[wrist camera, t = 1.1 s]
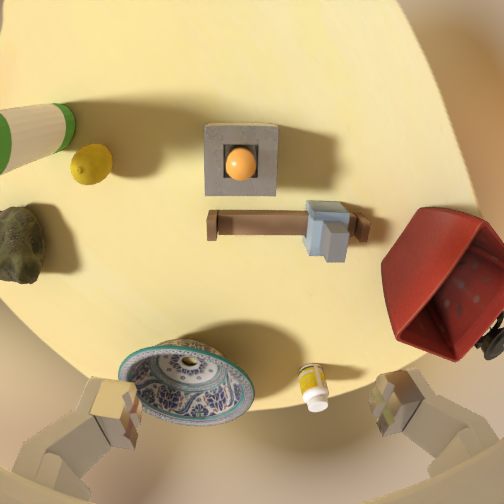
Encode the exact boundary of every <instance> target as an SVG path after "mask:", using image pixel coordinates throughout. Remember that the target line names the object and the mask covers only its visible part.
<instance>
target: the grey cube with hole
mask: <svg viewBox="0 0 504 504" xmlns="http://www.w3.org/2000/svg"><path fill="white" fill-rule="evenodd" d="M278 135H279V126H276V125H274V124H272V123H209V124H207V125H205V126H204V173H205V196H276V181H277V159H278ZM236 146H245V147H247V148H249V149H250V150H251V151H252V153H253V156H254V159H255V162H256V170H255V172H254V174H253V175H252V177H250V178H249V179H247V180H243V181H238V180H235V179H233V178H231V177H230V176H229V174H228V173H227V170H226V162H227V158H228V154H229V152H230V151H231V150H232V149H233V148H234V147H236Z"/></svg>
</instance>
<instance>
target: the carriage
mask: <svg viewBox="0 0 504 504" xmlns="http://www.w3.org/2000/svg"><path fill="white" fill-rule="evenodd" d="M306 209H307V211H308V213H309V217H308V227H307V235H303V243H304V245H305V247H306V249H307V252H308V254H309V256H324V258H325V260H326V262H345V258H346V252H347V247H348V241H349V235H350V233H349V232H348V231H347V230H348V224H349V217H350V212H349V211H348V210H347V209H346V208H345V207H344V206H343V205H342V204H341V203H340V202H330V201H307V202H306Z"/></svg>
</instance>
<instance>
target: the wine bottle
mask: <svg viewBox="0 0 504 504" xmlns="http://www.w3.org/2000/svg"><path fill="white" fill-rule="evenodd" d="M74 131H75V119H74V116H73V114H72V112H71V110H70V109H69V108H68V107H67V106H65V105H63V104H56V103H53V104H41V105H32V106H24V107H16V108H10V109H4V110H0V175H2V174H4V173H7V172H9V171H11V170H14V169H16V168H18V167H21V166H23V165H26V164H28V163H31V162H33V161H36V160H38V159H41V158H44V157H46V156H49V155H51V154H54V153H57V152H59V151H61V150H63V149H64V148H65V147H66V146H67V145H68V144H69V143H70V141H71V140H72V137H73V135H74Z"/></svg>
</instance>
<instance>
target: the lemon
mask: <svg viewBox="0 0 504 504" xmlns="http://www.w3.org/2000/svg"><path fill="white" fill-rule="evenodd" d="M112 164H113V159H112V155H111V153H110V151H109V150H108V149H107V148H106V147H105V146H103V145H101V144H89V145H86V146H84V147H82V148H81V149H79V150H78V151H77V152H76V154H75V155H74V157H73V158H72V161H71V168H70V169H71V173H72V176H73V177H74V179H75V180H76V181H77V182H79V183H80V184H84V185H93V184H96V183H99V182H101V181H102V180H103V179H105V178H106V177H107V175H108V174H109V173H110V170H111V168H112Z"/></svg>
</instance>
